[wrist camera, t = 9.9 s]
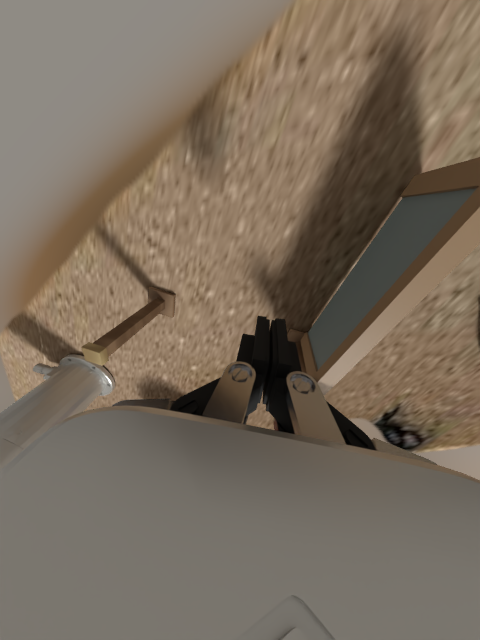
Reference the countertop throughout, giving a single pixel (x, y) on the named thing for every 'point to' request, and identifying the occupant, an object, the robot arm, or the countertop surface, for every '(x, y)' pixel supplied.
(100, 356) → the gate frame
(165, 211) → the countertop surface
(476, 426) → the countertop surface
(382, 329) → the panel
